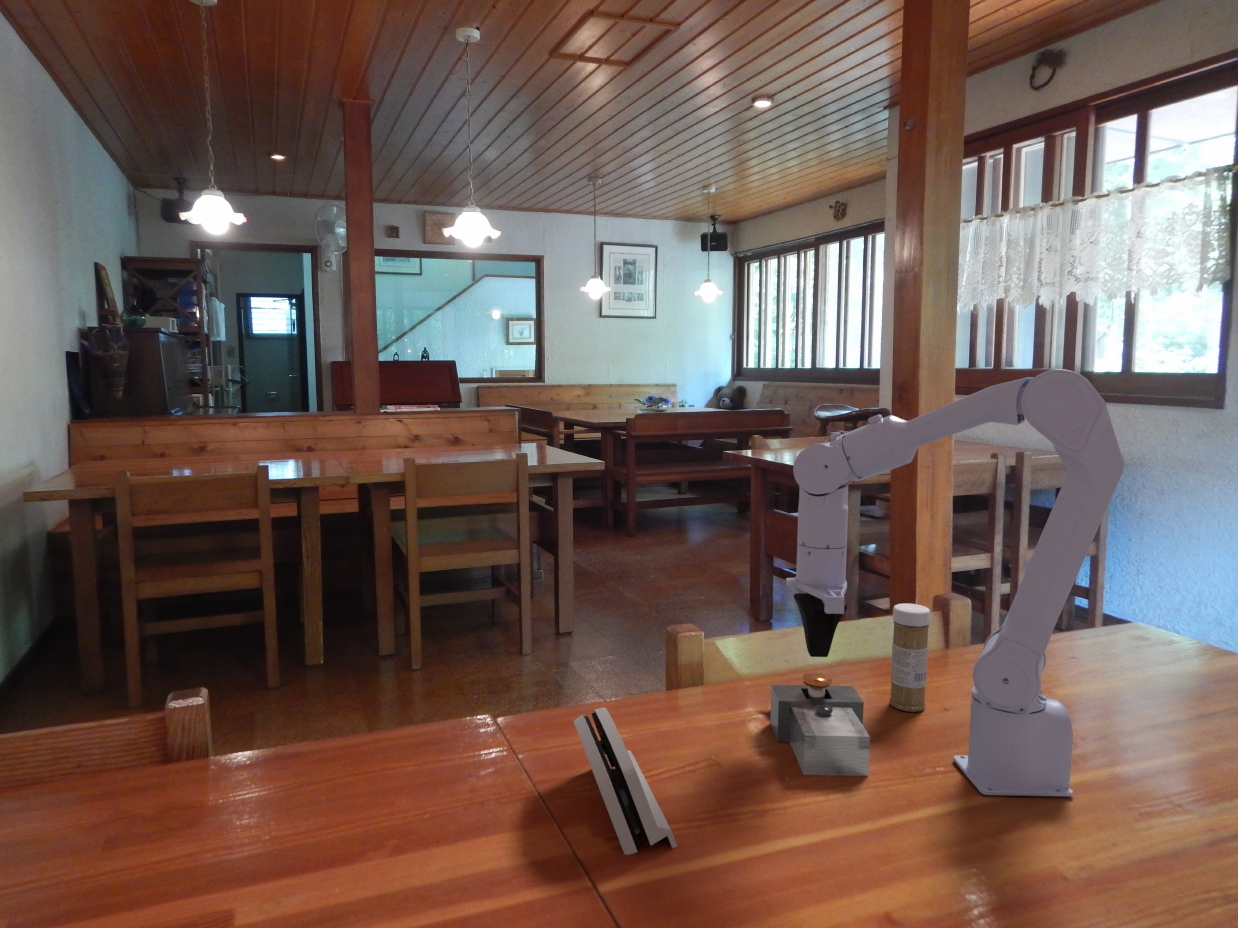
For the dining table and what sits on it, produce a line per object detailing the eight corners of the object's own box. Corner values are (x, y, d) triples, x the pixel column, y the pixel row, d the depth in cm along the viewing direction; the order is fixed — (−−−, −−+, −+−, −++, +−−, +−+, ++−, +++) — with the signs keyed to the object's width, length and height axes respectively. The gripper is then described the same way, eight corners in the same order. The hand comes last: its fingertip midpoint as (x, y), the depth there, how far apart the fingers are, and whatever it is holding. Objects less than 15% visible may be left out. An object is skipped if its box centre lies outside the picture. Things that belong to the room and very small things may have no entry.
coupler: (873, 760, 90) (875, 718, 90) (784, 759, 91) (785, 716, 90) (839, 707, 105) (841, 670, 104) (763, 705, 105) (764, 669, 105)
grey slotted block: (678, 848, 73) (643, 754, 71) (631, 871, 72) (594, 776, 71) (635, 763, 89) (606, 684, 88) (596, 780, 89) (566, 701, 87)
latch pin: (833, 718, 95) (834, 683, 95) (804, 718, 95) (805, 682, 95) (826, 707, 99) (827, 672, 98) (799, 706, 99) (800, 672, 98)
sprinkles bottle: (912, 697, 108) (917, 601, 107) (932, 711, 104) (938, 610, 102) (882, 700, 107) (886, 603, 106) (901, 714, 103) (905, 613, 101)
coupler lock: (868, 775, 87) (870, 731, 86) (803, 774, 87) (805, 730, 86) (848, 742, 95) (850, 701, 94) (789, 741, 95) (790, 700, 94)
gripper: (777, 531, 102) (774, 635, 104) (800, 557, 88) (796, 676, 89) (832, 532, 102) (828, 635, 103) (865, 558, 88) (860, 677, 89)
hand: (817, 654), depth 96 cm, fingers closed
